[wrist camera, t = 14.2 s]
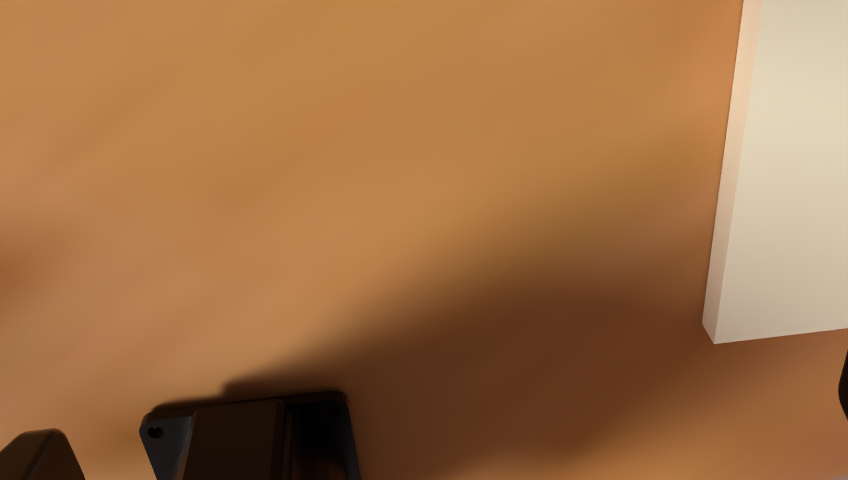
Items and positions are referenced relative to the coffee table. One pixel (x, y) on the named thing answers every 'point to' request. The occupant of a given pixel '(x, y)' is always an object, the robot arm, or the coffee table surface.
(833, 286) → the neck block
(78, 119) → the coffee table surface
